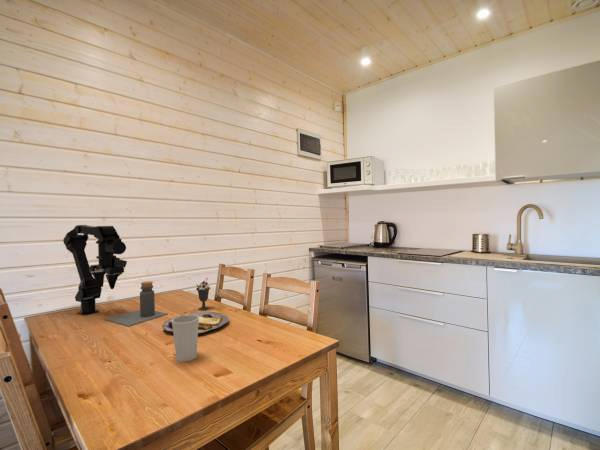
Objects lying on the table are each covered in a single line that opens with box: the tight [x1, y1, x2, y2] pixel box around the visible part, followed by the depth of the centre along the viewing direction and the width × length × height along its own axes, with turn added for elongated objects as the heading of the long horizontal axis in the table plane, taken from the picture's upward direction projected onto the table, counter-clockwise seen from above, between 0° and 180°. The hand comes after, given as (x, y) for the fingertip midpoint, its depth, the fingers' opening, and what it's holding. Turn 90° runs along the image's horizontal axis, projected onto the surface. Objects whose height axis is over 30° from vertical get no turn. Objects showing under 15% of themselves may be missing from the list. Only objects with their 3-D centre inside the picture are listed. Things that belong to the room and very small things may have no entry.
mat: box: [104, 309, 169, 328], centre depth 135 cm, size 18×18×1 cm
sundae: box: [195, 277, 211, 311], centre depth 146 cm, size 7×7×15 cm
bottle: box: [139, 280, 156, 317], centre depth 136 cm, size 6×6×15 cm
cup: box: [171, 314, 199, 362], centre depth 94 cm, size 8×8×12 cm
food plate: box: [162, 311, 230, 334], centre depth 123 cm, size 25×23×4 cm
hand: (106, 288), depth 136 cm, fingers open, 9 cm apart
